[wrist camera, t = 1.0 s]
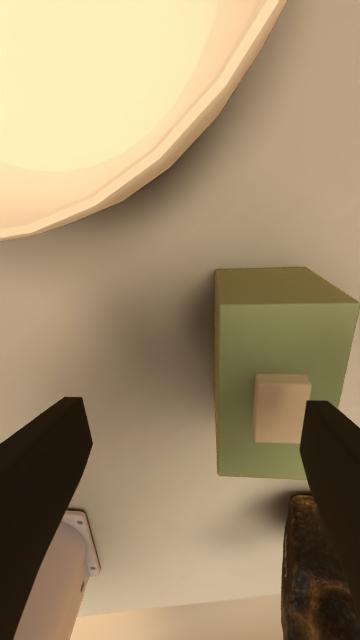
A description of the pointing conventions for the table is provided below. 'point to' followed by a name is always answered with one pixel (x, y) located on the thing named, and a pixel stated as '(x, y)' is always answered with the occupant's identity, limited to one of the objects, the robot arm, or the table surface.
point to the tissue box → (275, 364)
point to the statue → (313, 580)
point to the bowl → (110, 96)
